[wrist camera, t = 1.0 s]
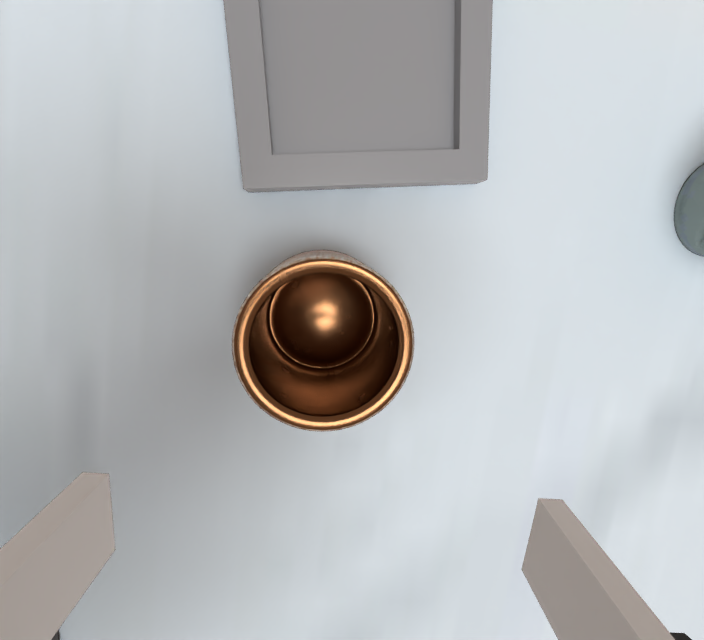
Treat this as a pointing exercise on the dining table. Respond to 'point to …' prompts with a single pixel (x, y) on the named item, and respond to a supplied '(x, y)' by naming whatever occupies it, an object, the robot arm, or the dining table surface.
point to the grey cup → (691, 213)
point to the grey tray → (360, 92)
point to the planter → (323, 342)
